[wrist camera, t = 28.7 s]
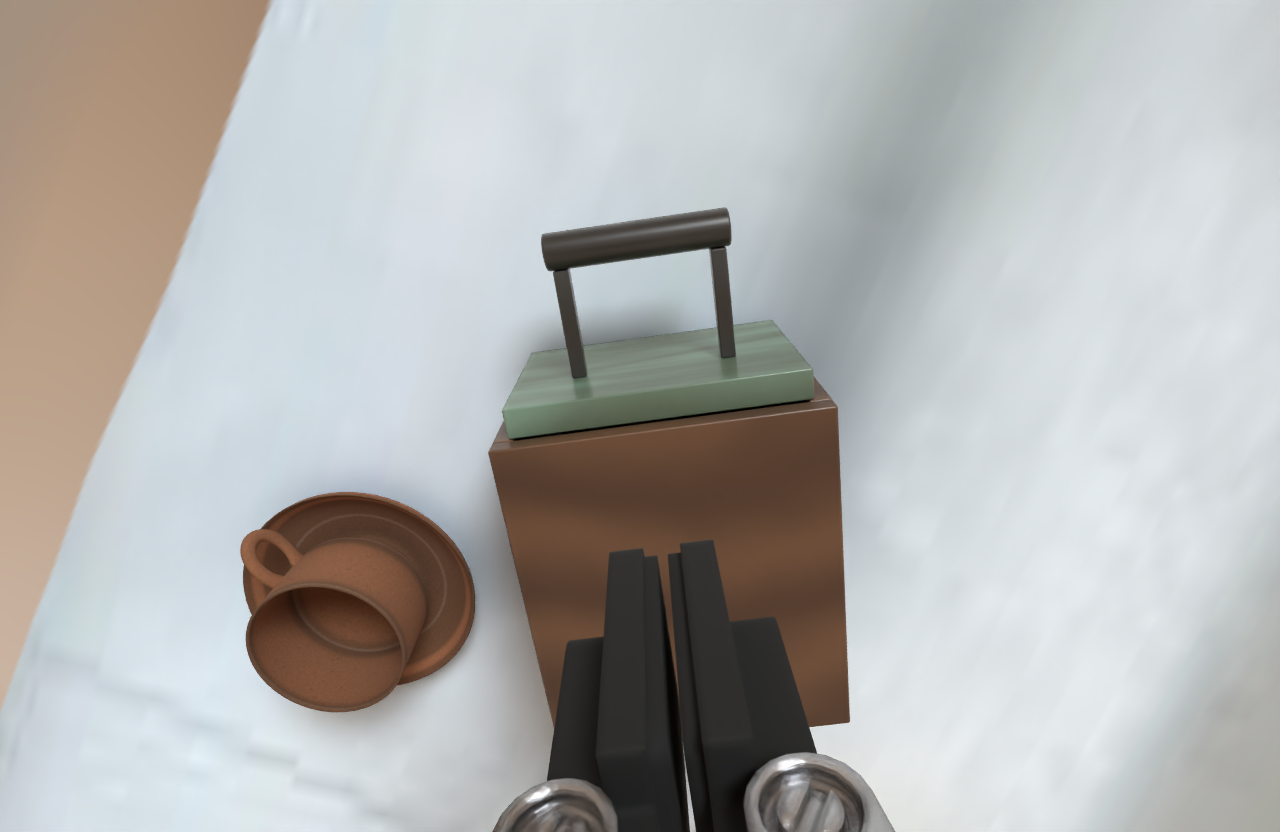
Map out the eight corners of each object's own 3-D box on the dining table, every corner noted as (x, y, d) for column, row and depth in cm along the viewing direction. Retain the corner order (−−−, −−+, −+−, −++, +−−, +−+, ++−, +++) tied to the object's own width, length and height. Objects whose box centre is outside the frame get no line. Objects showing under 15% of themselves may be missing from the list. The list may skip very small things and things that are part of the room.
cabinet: (527, 372, 34) (487, 452, 25) (783, 337, 33) (838, 405, 24) (577, 616, 39) (560, 755, 30) (799, 590, 38) (850, 723, 29)
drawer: (506, 229, 30) (465, 252, 23) (763, 191, 30) (804, 203, 22) (579, 591, 37) (566, 697, 30) (790, 565, 37) (828, 667, 29)
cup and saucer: (231, 607, 38) (159, 686, 33) (310, 438, 35) (245, 494, 29) (426, 693, 41) (391, 782, 35) (520, 543, 37) (498, 614, 31)
